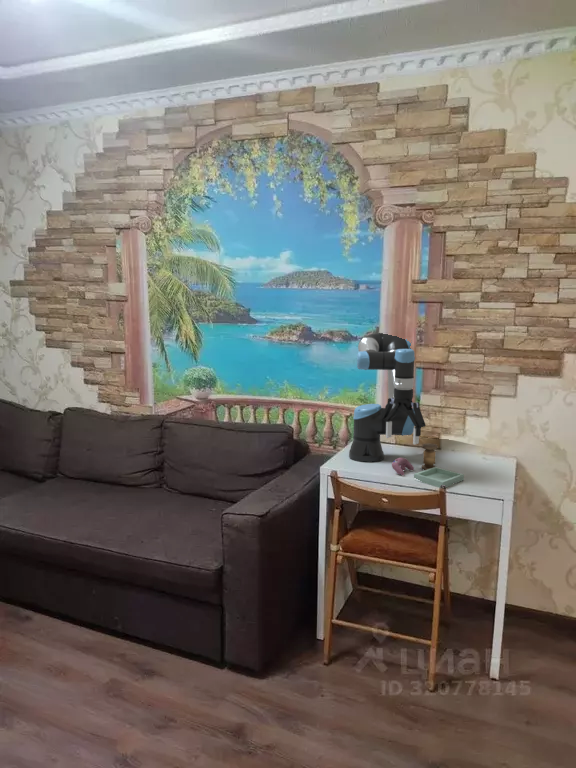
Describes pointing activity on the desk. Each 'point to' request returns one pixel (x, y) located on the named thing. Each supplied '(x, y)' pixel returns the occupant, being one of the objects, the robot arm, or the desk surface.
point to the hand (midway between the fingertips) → (402, 440)
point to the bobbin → (429, 456)
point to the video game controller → (401, 465)
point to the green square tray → (439, 477)
